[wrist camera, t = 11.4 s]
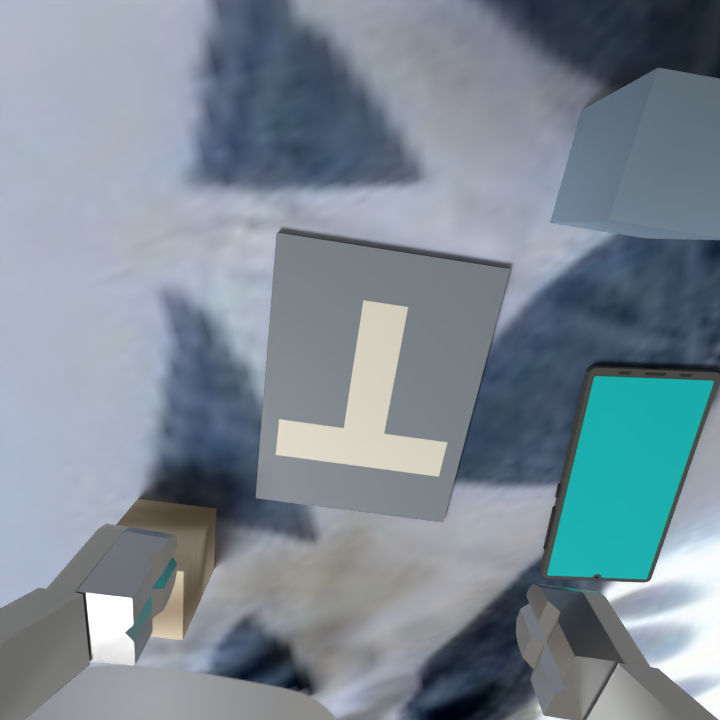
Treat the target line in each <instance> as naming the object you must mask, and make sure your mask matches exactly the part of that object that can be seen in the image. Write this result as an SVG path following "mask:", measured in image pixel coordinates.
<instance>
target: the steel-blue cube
mask: <svg viewBox="0 0 720 720" xmlns="http://www.w3.org/2000/svg"><path fill="white" fill-rule="evenodd" d="M550 223H554V224H560V225H566V226H572V227H578V228H585V229H591V230H597V231H603V232H609V233H616V234H622V235H628V236H634V237H640V238H654V239H698V240H720V79H719V78H713V77H708V76H702V75H697V74H691V73H685V72H680V71H674V70H669V69H663V68H657V69H655V70H653V71H651V72H649V73H648V74H646V75H644V76H642V77H640V78H639V79H637V80H635V81H633V82H631V83H630V84H628V85H626V86H624V87H622V88H621V89H619V90H617V91H615V92H613V93H612V94H610V95H608V96H606V97H604V98H603V99H601V100H599V101H597V102H595V103H594V104H592V105H590V106H588V107H587V108H585V109H583V110H582V112H581V116H580V119H579V123H578V126H577V130H576V133H575V137H574V141H573V144H572V148H571V151H570V155H569V158H568V162H567V165H566V169H565V172H564V176H563V179H562V183H561V186H560V190H559V193H558V197H557V200H556V204H555V207H554V211H553V214H552V218H551V221H550Z"/></svg>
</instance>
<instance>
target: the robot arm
mask: <svg viewBox="0 0 720 720" xmlns="http://www.w3.org/2000/svg"><path fill="white" fill-rule="evenodd" d="M176 549H177V536H176V535H174V534H168V533H162V532H156V531H150V530H144V529H138V528H132V527H123V526H117V525H111V524H105V525H104V526H102V527H100V528H99V529H98V530H97V531H96V532H95V533H94V534H93V536H92V537H91V538H90V539H89V540H88V541H87V542H86V544H85V545H84V546H83V547H82V548H81V549H80V551H79V552H78V553H77V554H76V555H75V556H74V557H73V559H72V560H71V561H70V562H69V563H68V564H67V566H66V567H65V568H64V569H63V570H62V571H61V572H60V574H59V575H58V576H57V577H56V578H55V579H54V581H53V582H52V583H51V584H50V585H49V586H48V587H47V589H43V588H38V589H36V590H34V591H32V592H30V593H28V594H26V595H25V596H23V597H21V598H19V599H17V600H15V601H13V602H12V603H10V604H8V605H6V606H4V607H2V608H0V720H25V719H26V718H27V717H28V716H30V715H31V714H32V713H33V712H34V711H35V710H37V709H38V708H39V707H40V706H41V705H43V704H44V703H45V702H46V701H47V700H48V699H50V698H51V697H52V696H53V695H54V694H56V693H57V692H58V691H59V690H60V689H61V688H63V687H64V686H65V685H66V684H67V683H69V682H70V681H71V680H72V679H73V678H75V677H76V676H77V675H78V674H79V673H80V672H81V671H83V670H84V669H85V668H86V667H87V666H89V665H90V661H91V662H102V663H113V664H124V665H135V664H136V663H137V661H138V659H139V657H140V655H141V653H142V651H143V649H144V647H145V645H146V643H147V641H148V639H149V638H150V636H151V634H152V632H153V618H154V617H155V616H157V615H158V614H159V613H161V612H162V611H163V610H164V608H165V606H166V604H167V602H168V600H169V598H170V596H171V593H172V590H173V587H174V584H175V580H176V574H177V562H176V561H175V560H174V558H173V557H172V556H173V555H174V553H175V551H176ZM527 598H528V600H529V604H528V605H526V606H525V607H523V608H522V609H520V612H519V615H518V617H517V621H516V635H517V640H518V645H519V648H520V651H521V654H522V657H523V658H524V659H525V660H526V661H527V662H528V663H529V665H530V666H531V667H532V668H533V672H532V676H531V682H532V685H533V687H534V690H535V693H536V695H537V698H538V701H539V704H540V706H541V709H542V712H543V715H544V716H550V717H557V718H563V719H570V720H718V719H717V718H716V717H714V716H713V715H712V714H711V713H710V712H709V711H707V710H706V709H705V708H704V707H703V706H701V705H700V704H699V703H698V702H697V701H696V700H694V699H693V698H692V697H691V696H690V695H689V694H687V693H686V692H685V691H684V690H683V689H681V688H680V687H679V686H678V685H677V684H676V683H674V682H673V681H672V680H671V679H670V678H668V677H667V676H666V675H665V674H664V673H663V672H661V671H660V670H659V669H658V668H653V667H650V666H649V664H648V662H647V661H646V659H645V658H644V656H643V655H642V653H641V652H640V650H639V648H638V647H637V645H636V644H635V642H634V641H633V639H632V638H631V636H630V634H629V633H628V631H627V630H626V628H625V627H624V625H623V624H622V622H621V620H620V619H619V617H618V616H617V614H616V613H615V611H614V610H613V608H612V606H611V605H610V603H609V602H608V600H607V599H606V597H605V596H604V595H602V594H601V593H600V592H596V591H588V590H580V589H574V588H566V587H558V586H550V585H542V584H534V585H532V586H531V587H530V588H529V591H528V593H527Z"/></svg>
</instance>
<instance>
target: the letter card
mask: <svg viewBox="0 0 720 720" xmlns="http://www.w3.org/2000/svg"><path fill="white" fill-rule="evenodd" d="M509 272H510V269H507V268H501V267H494V266H488V265H481V264H475V263H469V262H462V261H456V260H450V259H443V258H437V257H430V256H424V255H418V254H411V253H405V252H399V251H392V250H386V249H379V248H373V247H367V246H360V245H354V244H348V243H341V242H335V241H328V240H322V239H316V238H309V237H303V236H296V235H290V234H284V233H277V235H276V248H275V261H274V273H273V286H272V298H271V311H270V323H269V336H268V348H267V361H266V373H265V386H264V398H263V411H262V423H261V436H260V449H259V461H258V474H257V486H256V498H258V499H266V500H274V501H281V502H289V503H297V504H305V505H312V506H320V507H328V508H336V509H343V510H351V511H359V512H367V513H374V514H382V515H390V516H398V517H405V518H413V519H421V520H428V521H436V522H444V518H445V514H446V510H447V506H448V503H449V499H450V495H451V491H452V488H453V484H454V480H455V476H456V472H457V469H458V465H459V461H460V457H461V454H462V450H463V446H464V442H465V438H466V435H467V431H468V427H469V423H470V419H471V416H472V412H473V408H474V404H475V401H476V397H477V393H478V389H479V385H480V382H481V378H482V374H483V370H484V367H485V363H486V359H487V355H488V351H489V348H490V344H491V340H492V336H493V332H494V329H495V325H496V321H497V317H498V314H499V310H500V306H501V302H502V298H503V295H504V291H505V287H506V283H507V280H508V276H509Z"/></svg>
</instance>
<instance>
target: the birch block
mask: <svg viewBox="0 0 720 720" xmlns="http://www.w3.org/2000/svg"><path fill="white" fill-rule="evenodd" d="M216 516H217V509H216V508H208V507H200V506H192V505H185V504H177V503H169V502H161V501H153V500H145V499H138V500H137V501H136V502H135V503H134V504H133V505H132V507H131V508H130V509H129V510H128V511H127V513H126V514H125V515H124V516H123V517H122V519H121V520H120V521H119V522H118V523H117V524H116V525H117V526H123V527H132V528H138V529H144V530H150V531H156V532H162V533H168V534H174V535H176V536H177V549H176V551H175V553H174V555H173V556H172V557H173V558H174V560H175V561H176V562H177V574H176V580H175V584H174V587H173V590H172V593H171V596H170V598H169V600H168V602H167V604H166V606H165V608H164V610H163V611H162V612H161V613H159V614H158V615H157V616H155V617H154V618H153V632H152V634H151V637H160V638H169V639H178V640H183V638H184V636H185V634H186V631H187V629H188V627H189V625H190V622H191V620H192V618H193V616H194V613H195V611H196V609H197V607H198V604H199V602H200V600H201V597H202V595H203V593H204V591H205V588H206V586H207V584H208V582H209V579H210V577H211V575H212V573H213V570H214V562H215V539H216Z"/></svg>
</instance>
